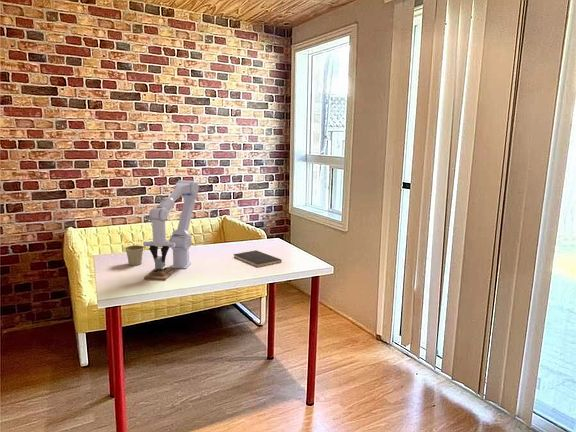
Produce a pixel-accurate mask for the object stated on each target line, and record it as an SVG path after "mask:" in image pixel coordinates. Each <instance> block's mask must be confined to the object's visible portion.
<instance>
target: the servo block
mask: <svg viewBox="0 0 576 432" xmlns="http://www.w3.org/2000/svg"><path fill="white" fill-rule="evenodd" d="M165 267H166V261H165V262H162V255H161V256H160V255H158V256H157V258H156V259H155V261H154V269H164V268H165Z"/></svg>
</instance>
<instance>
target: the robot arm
mask: <svg viewBox="0 0 576 432" xmlns="http://www.w3.org/2000/svg"><path fill="white" fill-rule="evenodd" d="M199 189H200V186H199V183H198V182H197V181H196V180H182V179H178V181H177V182H175V188H174V189H173V190H172V192H171V193H170V195H169V196H166V197H163V199H162V200H161V201H160V203H159V204H158V205H157V206H156V207H152V208H151V209H150V211H149V214H148V216H149V219H150V223H151V224H152V226H151V227H152V241H144V242H142V243H143V245H142V246H144V247H149V251H150V253H151V255H152V258H153V261H154V262H155V259H156V258H157V256H159V255H158V249H159V248H160V247H161V248H160V250H161V251H160V253H161V256H162V262H165V263H166V257H167V254H168V251H169V250H172V265H171V266H170V267H169V268H171V269H185V270H186V269H187V268H188V267H189V266H190V265H191V264H192V262H190V251H189V249H190V248H191V245H192V235H191V233H189V228H190V224H191V220H192V215H193V211H194V207H195V205H196V204H195V203H196V199H197V197H198V194H199ZM180 197H181V198H182V199H184V201H183V205H182V208H181V213H180V218H179V221H178V225H177V229H175V230H174V231H172V233H171V236H170V238H169V239H168V241H166V239H167V238H166V220H167V219H168V217H169V216H168V215H169V213H170V211H171V210H172V209H173V208H174V206H175V202H176V201H177V200H178V199H179V198H180ZM170 248H171V249H170Z"/></svg>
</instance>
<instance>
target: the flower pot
mask: <svg viewBox="0 0 576 432" xmlns="http://www.w3.org/2000/svg"><path fill="white" fill-rule="evenodd" d="M144 249H145V246H143V245H139V244H138V245H136V244H135V245H129V246H126V247H124V250H125V252H126V256H127V262H128V265H130V266H139V265H142V262H143V252H144Z"/></svg>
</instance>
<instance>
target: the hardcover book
mask: <svg viewBox="0 0 576 432" xmlns="http://www.w3.org/2000/svg"><path fill="white" fill-rule="evenodd" d="M233 257H234V258H235V257H236V258H235V259H237V258H238V260H239V261H242V260H243V261H242V262H244V261H245V262H244V263H247V262H248V264H249V263H250V265H252V266H254V265H255V266H254V267H257V268H259V266H260V267H264V266H263V265H265V266H269V265H268V264H270V265H273V264H272V263H275V264H278V263H277V262H280V263H282V261H283V260H282V259H281V258H278V257H275V256H273V255H270V254H267V253H265V252H262V251H258V250H250V251H244V252H239V253H233Z"/></svg>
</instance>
